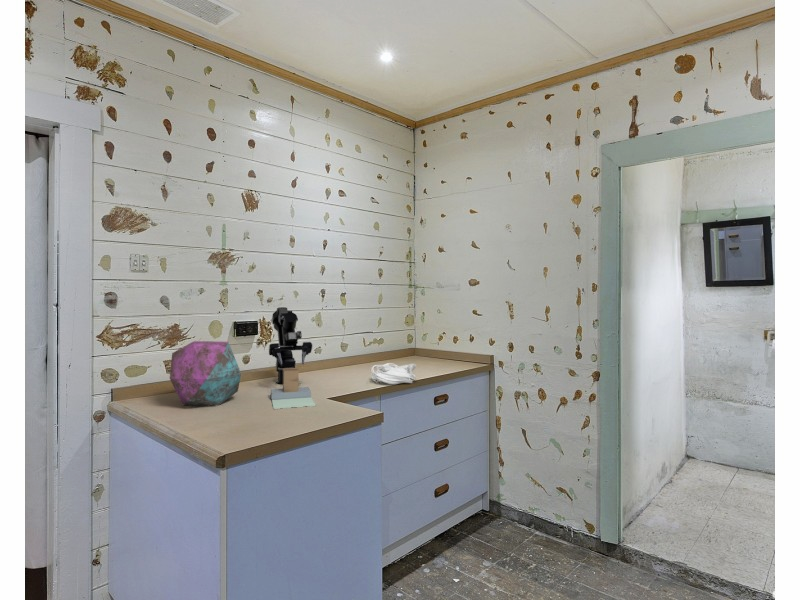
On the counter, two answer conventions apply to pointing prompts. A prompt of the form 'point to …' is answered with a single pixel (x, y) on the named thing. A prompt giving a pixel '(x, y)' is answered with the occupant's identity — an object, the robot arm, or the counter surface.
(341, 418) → the counter surface
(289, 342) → the robot arm
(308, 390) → the plate
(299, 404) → the mat
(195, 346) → the decorative object
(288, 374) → the block
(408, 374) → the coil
